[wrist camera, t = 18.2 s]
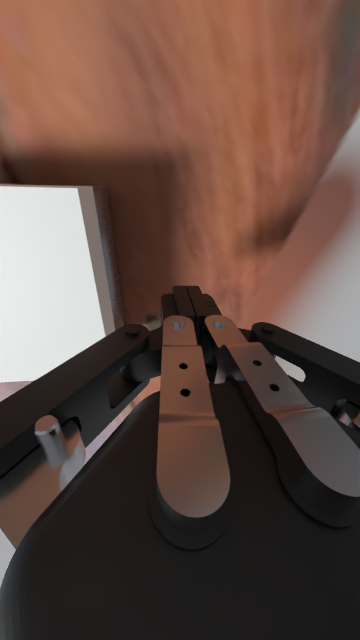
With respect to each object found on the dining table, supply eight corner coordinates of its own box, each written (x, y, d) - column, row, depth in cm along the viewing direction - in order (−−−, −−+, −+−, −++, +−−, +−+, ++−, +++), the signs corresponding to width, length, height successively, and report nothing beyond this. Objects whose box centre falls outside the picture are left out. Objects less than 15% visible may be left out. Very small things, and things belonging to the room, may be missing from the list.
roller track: (110, 185, 15) (101, 186, 13) (127, 329, 22) (124, 349, 19) (-102, 180, 14) (-158, 180, 12) (-17, 334, 20) (-41, 356, 18)
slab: (92, 186, 13) (77, 187, 10) (118, 349, 19) (112, 376, 17) (-104, 181, 12) (-175, 182, 9) (-8, 355, 18) (-34, 384, 16)
